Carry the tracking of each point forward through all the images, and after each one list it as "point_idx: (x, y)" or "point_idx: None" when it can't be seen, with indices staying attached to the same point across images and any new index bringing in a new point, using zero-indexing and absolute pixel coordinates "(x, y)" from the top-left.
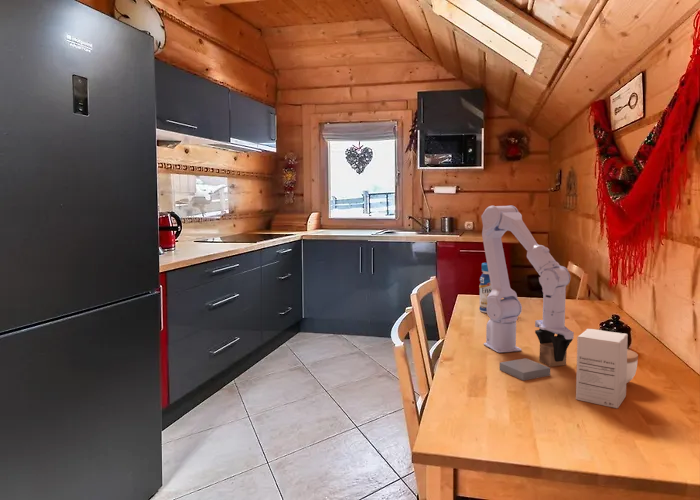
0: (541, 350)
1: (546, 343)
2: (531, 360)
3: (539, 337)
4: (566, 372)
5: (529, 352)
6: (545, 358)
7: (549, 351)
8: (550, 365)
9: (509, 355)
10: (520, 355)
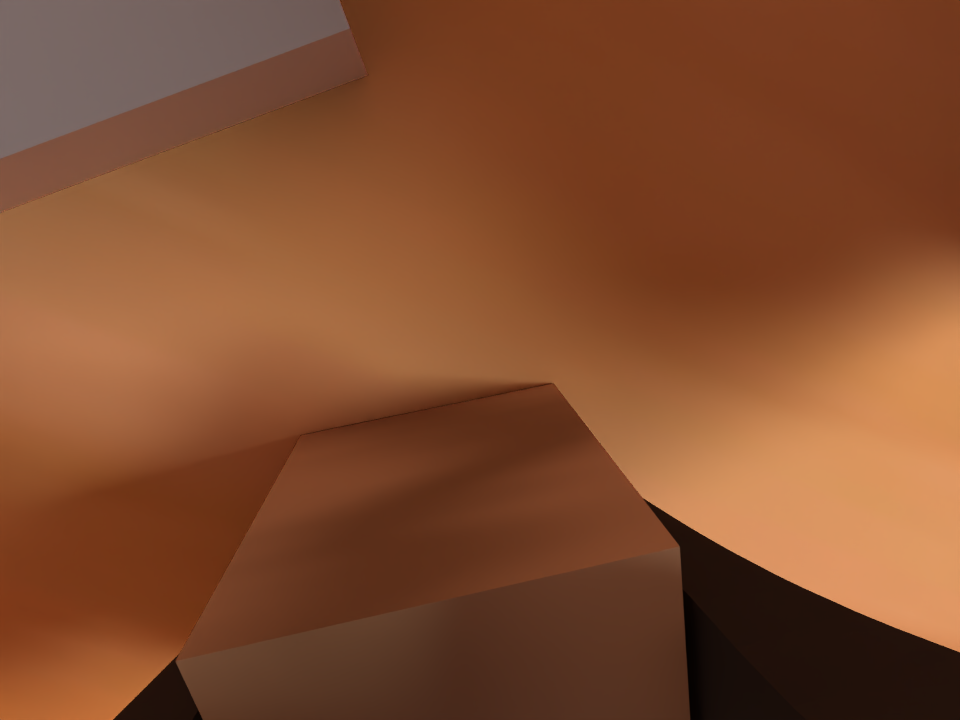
0: (553, 477)
1: (669, 696)
2: (178, 91)
3: (898, 707)
4: (46, 545)
5: (918, 393)
6: (413, 448)
7: (259, 580)
8: (299, 445)
9: (902, 20)
10: (847, 212)
